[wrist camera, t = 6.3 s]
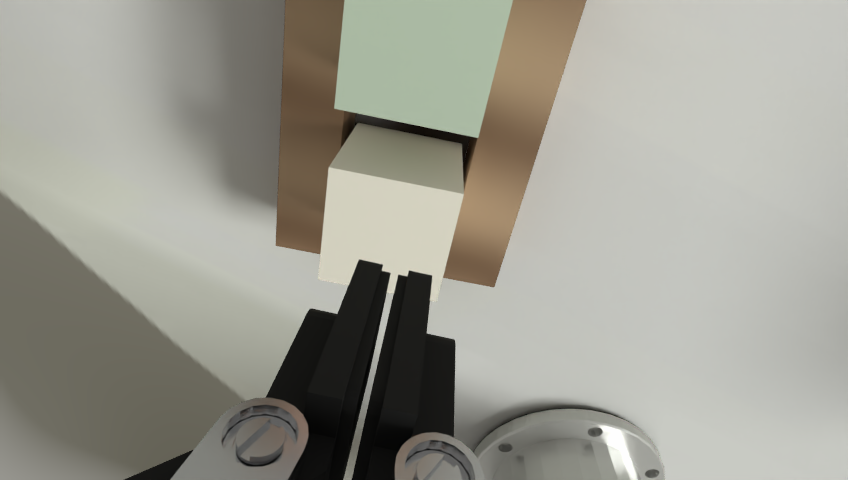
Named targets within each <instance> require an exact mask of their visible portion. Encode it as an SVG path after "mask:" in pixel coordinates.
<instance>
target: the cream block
mask: <svg viewBox="0 0 848 480" xmlns="http://www.w3.org/2000/svg"><path fill="white" fill-rule="evenodd" d="M463 196H464V182H463V158H462V144H461V143H456V142H451V141H446V140H441V139H436V138H431V137H426V136H421V135H417V134H412V133H407V132H402V131H397V130H392V129H387V128H382V127H377V126H372V125H367V124H362V123H357V125H356V126H355V128H354V130H353V131H352V133H351V134H350V136H349V137H348V139H347V140H346V142H345V143H344V145H343V146H342V148H341V149H340V151H339V152H338V154H337V155H336V157H335V158H334V160H333V161H332V163H331V164H330V166H329V169H328V179H327V190H326V201H325V211H324V222H323V232H322V243H321V253H320V264H319V274H318V280H322V281H328V282H333V283H338V284H344V285H349V283H350V281H351V278H352V276H353V273H354V271H355V268H356V266H357V263H358V261H359V259H360V260H365V261H369V262H374V263H378V264H383V268H382V271H385V272H389V273H391V274H390V279H389V284H388V288H387V293H391V294H394V291H395V287H396V282H397V278H398V275H403V276H408V272H409V270H410V271H414V272H419V273H423V274H428V275H432V285H431V295H430V301H434V302H437V299H438V295H439V291H440V287H441V283H442V279H443V275H444V271H445V267H446V263H447V259H448V256H449V252H450V248H451V244H452V240H453V236H454V232H455V228H456V224H457V220H458V216H459V212H460V208H461V204H462V200H463Z"/></svg>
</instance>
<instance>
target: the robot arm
mask: <svg viewBox="0 0 848 480" xmlns="http://www.w3.org/2000/svg"><path fill="white" fill-rule="evenodd" d="M382 268H383V264H378V263H374V262H369V261H365V260H360V259H359V261H358V263H357V266H356V268H355V271H354V273H353V276H352V278H351V281H350V283H349V286H348V289H347V291H346V294H345V296H344V299H343V301H342V304H341V306H340V309H339V312H338V314H334V313H329V312H325V311H320V310H316V309H310V310H309V311H308V313H307V314H306V316H305V319H304V321H303V323H302V325H301V327H300V329H299V331H298V333H297V335H296V337H295V339H294V341H293V343H292V345H291V347H290V349H289V351H288V353H287V355H286V357H285V359H284V361H283V364H282V366H281V368H280V370H279V372H278V374H277V376H276V378H275V380H274V382H273V384H272V386H271V388H270V390H269V392H268V394H267V396H266V398H255V399H251V400H248V401H244V402H241V403H239V404H237V405H236V406H234V407H232V408H230V409H228V410H227V411H226V412H225V413H224V414H223V415H222V416H221V417H220V418H219V419H218V420H217V421H216V423H215V424H214V425H213V426H212V428H211V429H210V430H209V432H208V433H207V434H206V435H205V437H204V438H203V439H202V440H201V442H200V443H199V444H198V445H197V447H196V448H195V449H194V450H192V451H189V452H187V453H185V454H183V455H180V456H178V457H176V458H173V459H171V460H169V461H166V462H164V463H162V464H160V465H157V466H155V467H153V468H150V469H148V470H146V471H143V472H141V473H139V474H137V475H134V476H132V477H129V478H127V479H125V480H343V478H344V474H345V470H346V466H347V462H348V458H349V454H350V450H351V446H352V442H353V438H354V434H355V429H356V425H357V421H358V417H359V413H360V409H361V405H362V401H363V397H364V393H365V389H366V385H367V381H368V377H369V372H370V368H371V364H372V359H373V354H374V349H375V345H376V340H377V335H378V331H379V326H380V321H381V317H382V312H383V307H384V303H385V298H386V293H387V288H388V284H389V279H390V274H391V273H389V272H385V271H382ZM431 285H432V275H428V274H423V273H419V272H414V271H410V270H409V272H408V276H403V275H398V278H397V282H396V287H395V291H394V296H393V300H392V304H391V309H390V313H389V317H388V322H387V326H386V330H385V335H384V339H383V344H382V348H381V352H380V357H379V361H378V365H377V370H376V374H375V379H374V383H373V387H372V392H371V396H370V400H369V405H368V409H367V414H366V418H365V423H364V427H363V432H362V436H361V441H360V445H359V450H358V454H357V459H356V464H355V468H354V473H353V477H352V480H665V471H664V465H663V463H662V460H661V458H660V455H659V453H658V450H657V449H656V447H655V445H654V444H653V442H652V440H651V439H650V438H649V437H648V436H647V435H646V434H645V433H644V432H643V431H642V430H641V429H639V428H638V427H636V426H634V425H633V424H631V423H629V422H628V421H626V420H623V419H621V418H618V417H616V416H613V415H610V414H606V413H602V412H597V411H593V410H584V409H553V410H547V411H541V412H536V413H531V414H528V415H525V416H522V417H519V418H516V419H514V420H512V421H510V422H508V423H506V424H504V425H502V426H500V427H498V428H497V429H496V430H494V431H493V432H492V433H490V434H489V435H488V436H486V437H485V438H484V439H483V441H482V442H481V443H480V444H479V445H478V446H477V447H476V449H475V451H474V453H473V452H472V450H471V449H469V448H468V447H467V446H466V445H465V444H463V443H462V442H461V441H459V440H457V439H455V438H454V391H455V340H454V339H449V338H445V337H440V336H435V335H431V334H426V333H427V323H428V314H429V304H430V295H431Z"/></svg>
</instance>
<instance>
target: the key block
mask: <svg viewBox="0 0 848 480" xmlns="http://www.w3.org/2000/svg"><path fill="white" fill-rule="evenodd" d="M585 3H586V0H513V2H512V6H511V10H510V14H509V18H508V22H507V26H506V30H505V34H504V38H503V42H502V46H501V50H500V54H499V58H498V62H497V66H496V70H495V74H494V78H493V82H492V85H491V89H490V93H489V97H488V101H487V105H486V109H485V113H484V117H483V121H482V125H481V129H480V133H479V137H478V138H476V137H471V136H470V139H469V144H468V148H467V152H466V156H465V160H464V164H463V182H464V196H463V200H462V204H461V208H460V212H459V216H458V220H457V224H456V228H455V232H454V236H453V240H452V244H451V248H450V252H449V256H448V259H447V263H446V267H445V271H444V275H443V278H448V279H453V280H458V281H464V282H469V283H474V284H479V285H485V286H490V287H494V286H495V283H496V280H497V277H498V274H499V271H500V267H501V264H502V261H503V258H504V255H505V252H506V249H507V246H508V243H509V240H510V236H511V233H512V230H513V227H514V224H515V221H516V218H517V215H518V212H519V208H520V205H521V202H522V199H523V196H524V193H525V190H526V187H527V184H528V180H529V177H530V174H531V171H532V168H533V165H534V162H535V159H536V156H537V152H538V149H539V146H540V143H541V140H542V137H543V134H544V131H545V128H546V124H547V121H548V118H549V115H550V112H551V109H552V106H553V103H554V100H555V97H556V93H557V90H558V87H559V84H560V81H561V78H562V75H563V72H564V69H565V65H566V62H567V59H568V56H569V53H570V50H571V47H572V44H573V41H574V37H575V34H576V31H577V28H578V25H579V22H580V19H581V16H582V13H583V9H584V6H585ZM343 11H344V0H285V25H284V50H283V75H282V101H281V126H280V151H279V177H278V202H277V227H276V246H280V247H285V248H291V249H296V250H301V251H306V252H312V253H317V254H320V253H321V243H322V232H323V222H324V211H325V201H326V190H327V179H328V169H329V166H330V164H331V163H332V161H333V160H334V158H335V157H336V155H337V154H338V152H339V151H340V149H341V148H342V146H343V145H344V143H345V142H346V140H347V139H348V137H349V136H350V134H351V133H352V131H353V130H354V126H355V117H356V113H353V112H348V111H343V110H338V109H334V106H335V95H336V85H337V74H338V63H339V53H340V42H341V32H342V21H343ZM377 118H378V117H377ZM382 119H383V118H382ZM426 128H427V127H426ZM431 129H432V128H431Z"/></svg>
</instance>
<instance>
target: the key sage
mask: <svg viewBox="0 0 848 480" xmlns="http://www.w3.org/2000/svg"><path fill="white" fill-rule="evenodd" d="M512 2H513V0H344V11H343V21H342V32H341V42H340V53H339V63H338V74H337V85H336V95H335V106H334V109H338V110H343V111H348V112H353V113H358V114H363V115H368V116H373V117H378V118H383V119H387V120H392V121H397V122H402V123H407V124H412V125H417V126H422V127H427V128H432V129H436V130H441V131H446V132H451V133H456V134H461V135H466V136H471V137H476V138H478V137H479V133H480V129H481V125H482V121H483V117H484V113H485V109H486V105H487V101H488V97H489V93H490V89H491V85H492V82H493V78H494V74H495V70H496V66H497V62H498V58H499V54H500V50H501V46H502V42H503V38H504V34H505V30H506V26H507V22H508V18H509V14H510V10H511V6H512Z"/></svg>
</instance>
